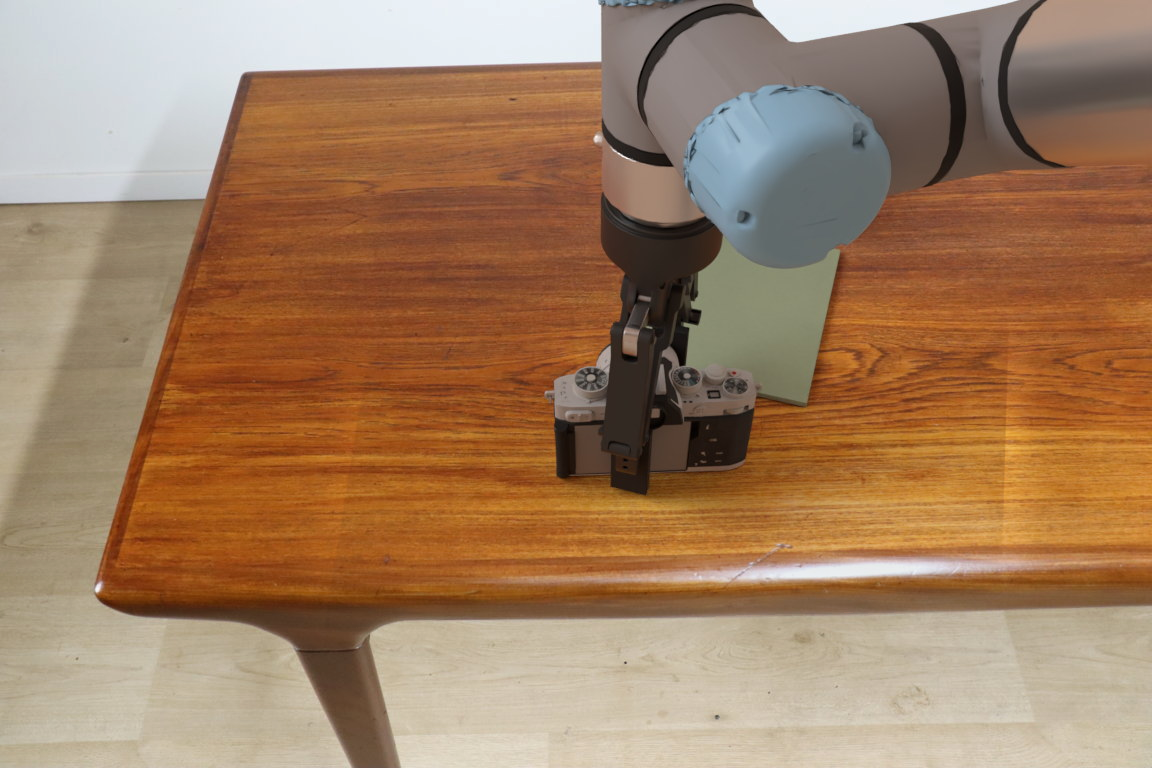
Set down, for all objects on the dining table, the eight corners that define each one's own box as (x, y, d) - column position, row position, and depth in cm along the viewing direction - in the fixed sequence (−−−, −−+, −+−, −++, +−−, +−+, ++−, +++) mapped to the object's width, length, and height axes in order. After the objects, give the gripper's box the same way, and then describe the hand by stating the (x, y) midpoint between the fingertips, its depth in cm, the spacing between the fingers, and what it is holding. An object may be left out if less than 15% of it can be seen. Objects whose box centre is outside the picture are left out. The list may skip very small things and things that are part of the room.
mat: (806, 407, 75) (807, 403, 75) (612, 364, 79) (612, 360, 78) (839, 253, 88) (840, 249, 88) (672, 222, 91) (672, 218, 91)
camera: (739, 393, 76) (754, 300, 69) (758, 483, 70) (777, 391, 63) (546, 400, 76) (541, 308, 69) (548, 491, 70) (543, 399, 62)
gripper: (652, 88, 64) (640, 327, 81) (540, 301, 50) (554, 539, 66) (762, 105, 63) (727, 346, 79) (679, 330, 48) (658, 568, 64)
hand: (648, 434), depth 72 cm, fingers closed on camera, 10 cm apart
